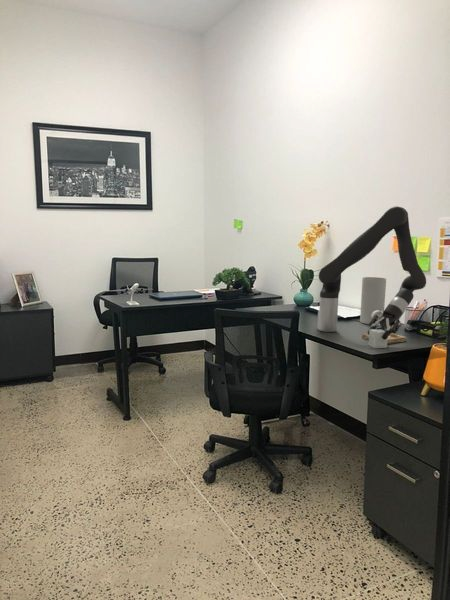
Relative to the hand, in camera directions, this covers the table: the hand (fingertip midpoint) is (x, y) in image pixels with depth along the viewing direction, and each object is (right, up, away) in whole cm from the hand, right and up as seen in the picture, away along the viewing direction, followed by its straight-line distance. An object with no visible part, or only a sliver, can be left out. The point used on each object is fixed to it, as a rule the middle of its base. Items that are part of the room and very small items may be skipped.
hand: (376, 336), depth 213 cm
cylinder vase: (+15, +3, +55) cm, 57 cm away
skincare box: (+1, -5, +1) cm, 5 cm away
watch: (+11, 0, +32) cm, 34 cm away
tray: (+8, -3, +15) cm, 17 cm away
